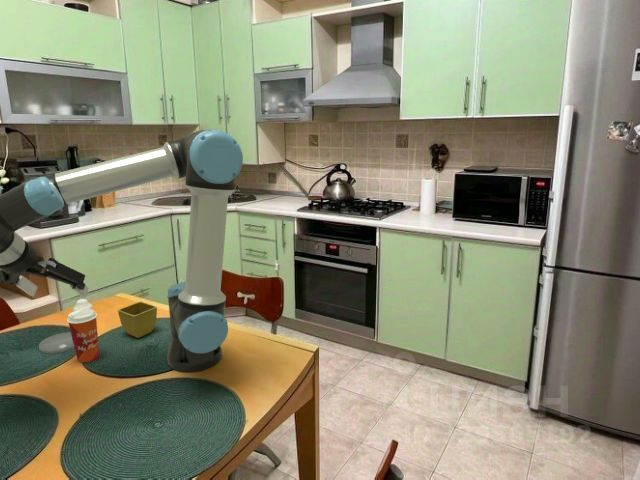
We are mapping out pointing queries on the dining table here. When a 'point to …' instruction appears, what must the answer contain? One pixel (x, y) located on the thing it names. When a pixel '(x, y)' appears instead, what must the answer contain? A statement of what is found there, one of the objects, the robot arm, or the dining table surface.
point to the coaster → (57, 343)
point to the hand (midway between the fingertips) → (60, 292)
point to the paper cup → (84, 334)
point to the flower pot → (138, 318)
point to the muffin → (82, 305)
